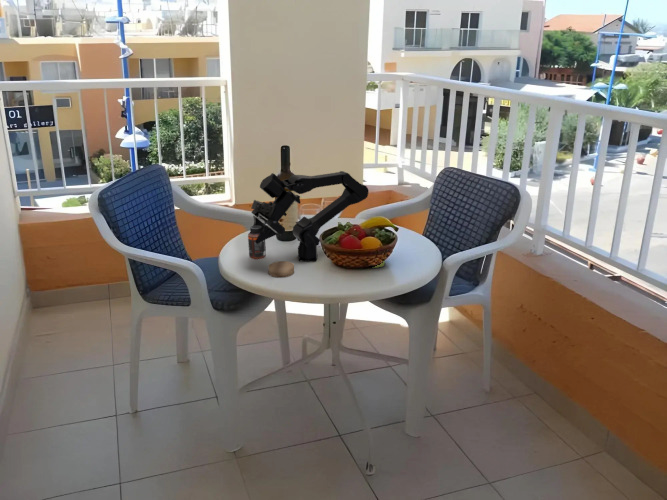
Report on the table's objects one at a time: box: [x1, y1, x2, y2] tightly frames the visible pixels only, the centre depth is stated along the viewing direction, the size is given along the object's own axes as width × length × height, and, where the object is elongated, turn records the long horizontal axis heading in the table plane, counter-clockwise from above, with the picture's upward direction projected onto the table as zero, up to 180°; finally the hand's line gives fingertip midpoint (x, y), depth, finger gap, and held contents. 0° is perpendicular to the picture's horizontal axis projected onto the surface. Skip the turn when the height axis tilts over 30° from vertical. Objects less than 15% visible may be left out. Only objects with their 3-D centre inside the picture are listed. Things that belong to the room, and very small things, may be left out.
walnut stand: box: [268, 260, 295, 278], centre depth 203 cm, size 9×9×2 cm
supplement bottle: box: [247, 225, 267, 260], centre depth 204 cm, size 6×6×11 cm
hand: (252, 240), depth 203 cm, fingers closed on supplement bottle, 6 cm apart
